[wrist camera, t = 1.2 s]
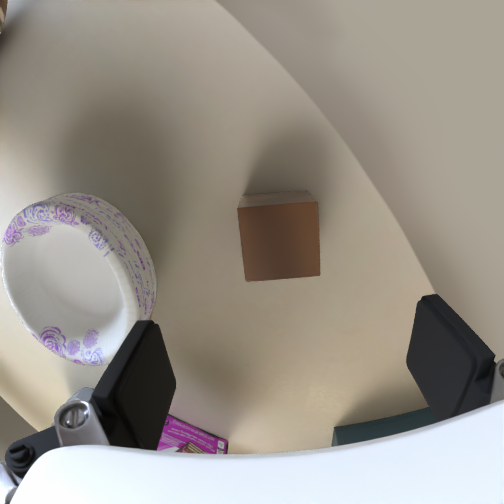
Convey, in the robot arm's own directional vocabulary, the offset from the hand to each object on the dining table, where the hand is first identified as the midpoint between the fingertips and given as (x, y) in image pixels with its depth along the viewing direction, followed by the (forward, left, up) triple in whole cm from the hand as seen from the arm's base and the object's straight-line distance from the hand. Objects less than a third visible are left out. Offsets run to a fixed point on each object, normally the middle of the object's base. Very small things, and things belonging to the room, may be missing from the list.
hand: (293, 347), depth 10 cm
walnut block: (0, 0, -17) cm, 17 cm away
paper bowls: (+18, +2, -18) cm, 25 cm away
